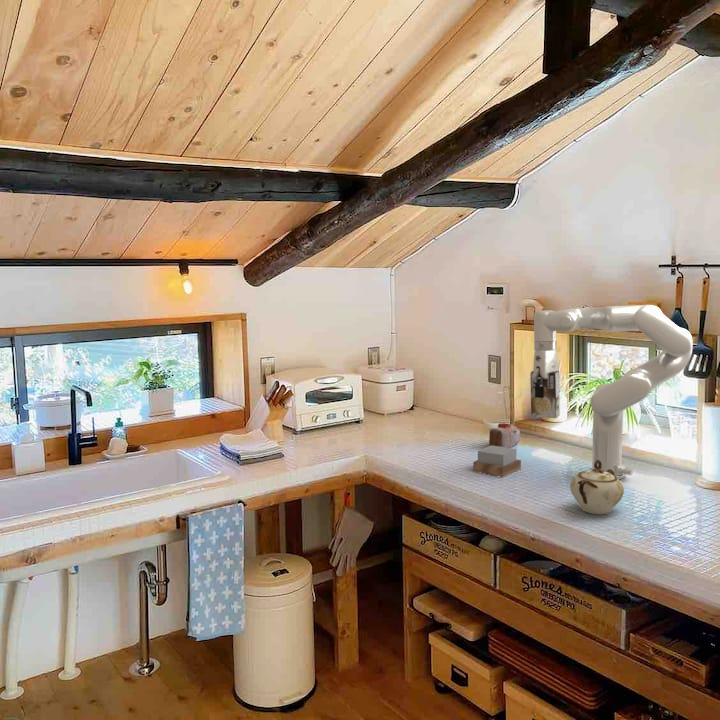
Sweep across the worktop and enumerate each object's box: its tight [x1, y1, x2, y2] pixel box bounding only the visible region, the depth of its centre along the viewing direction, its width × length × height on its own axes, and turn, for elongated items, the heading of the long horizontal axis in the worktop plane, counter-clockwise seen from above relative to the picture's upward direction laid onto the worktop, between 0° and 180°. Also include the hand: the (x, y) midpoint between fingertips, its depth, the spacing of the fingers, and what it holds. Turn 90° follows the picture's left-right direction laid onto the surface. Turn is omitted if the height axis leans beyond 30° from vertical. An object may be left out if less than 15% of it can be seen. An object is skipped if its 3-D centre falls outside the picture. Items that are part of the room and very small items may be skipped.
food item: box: [488, 422, 521, 448], centre depth 285 cm, size 14×8×10 cm, turn 138°
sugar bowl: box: [569, 460, 625, 515], centre depth 209 cm, size 20×15×15 cm
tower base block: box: [472, 459, 522, 478], centre depth 252 cm, size 12×12×4 cm
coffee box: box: [529, 370, 561, 419], centre depth 249 cm, size 9×6×16 cm
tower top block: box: [477, 445, 517, 466], centre depth 252 cm, size 10×10×4 cm
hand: (545, 395), depth 249 cm, fingers closed on coffee box, 7 cm apart
